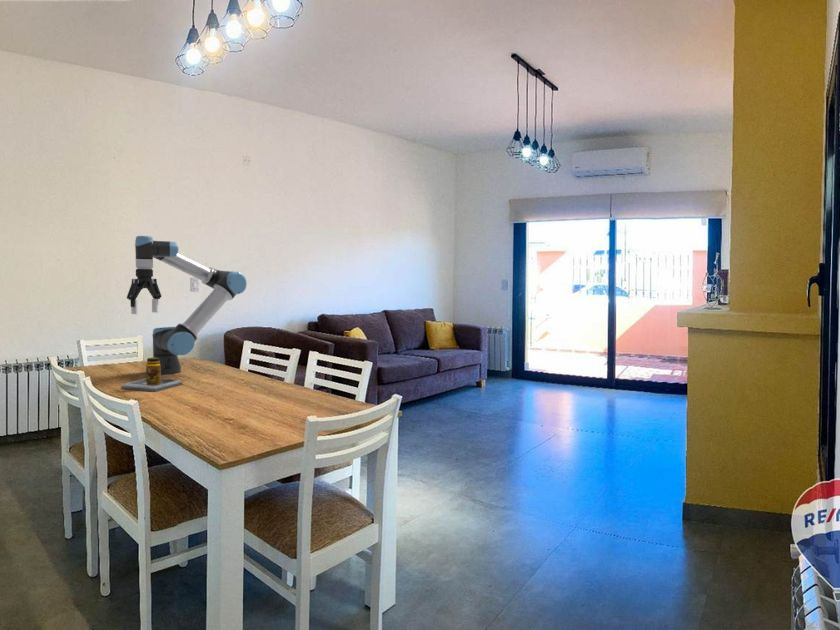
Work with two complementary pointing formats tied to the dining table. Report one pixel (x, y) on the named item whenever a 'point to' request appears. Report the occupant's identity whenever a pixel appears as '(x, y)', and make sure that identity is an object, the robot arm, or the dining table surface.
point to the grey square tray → (139, 386)
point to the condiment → (153, 372)
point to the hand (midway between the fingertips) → (144, 313)
